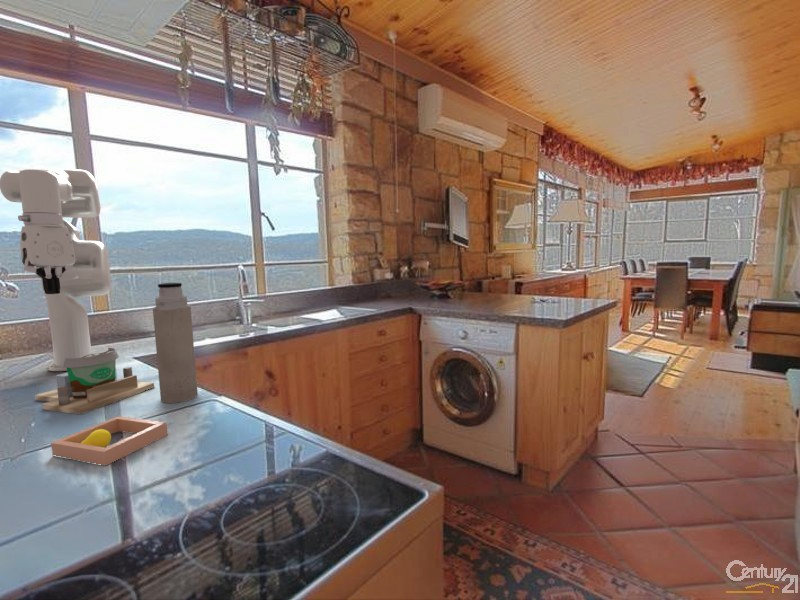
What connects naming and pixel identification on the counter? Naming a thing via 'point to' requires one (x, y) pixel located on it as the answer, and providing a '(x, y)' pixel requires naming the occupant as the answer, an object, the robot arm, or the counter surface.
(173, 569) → the counter surface
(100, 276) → the robot arm
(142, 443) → the pink square frame
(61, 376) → the block
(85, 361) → the food container
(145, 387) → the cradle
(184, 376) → the thermos bottle
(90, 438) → the light bulb
